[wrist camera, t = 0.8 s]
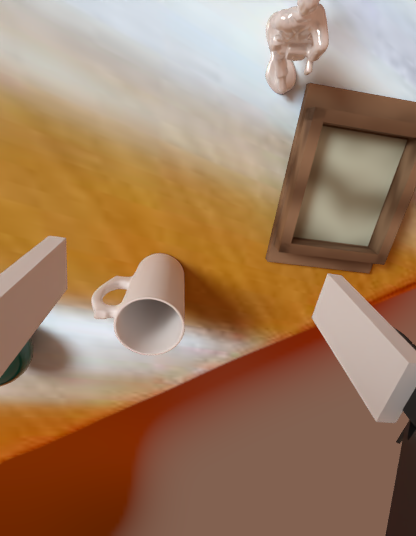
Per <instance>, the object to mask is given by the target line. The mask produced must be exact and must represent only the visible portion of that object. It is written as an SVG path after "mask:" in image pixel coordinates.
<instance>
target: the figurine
mask: <svg viewBox="0 0 416 536" xmlns="http://www.w3.org/2000/svg"><path fill="white" fill-rule="evenodd" d="M319 1H320V0H298V1H297V5H298V6H295V7H291V8H289V9H283V10H281V11H277V12H275V13H273V14H272V15H271V16H270V17H269V19H268V21H267V25H266V37H267V42H268V46H269V49H270V53H271V57H270V61H269V64H268V66H267V69H266V73H265V77H266V81H267V83H268V84H269V86H270V87H271V89H272V90H273V91H274V92H276V93H278V94H283V93H286V92H288V91H289V90H291V89H292V87H293V86H294V84H295V82H296V72H295V68H294V65H293V63H292V60H293V61H298V60H302V59H304V58H305V56H306V57H308V59H307V63H306V67H305V71H304V75H309V74H310V73H311V72H312V63H313V61H316V60H318V59H319V58H320V56H321V55H322V54H323V53H324V52H325V50H326V49H327V47H328V44H329V36H328V27H327V19H326V13H325V9H324V7H323V6H322V5H321V4H319Z"/></svg>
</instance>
